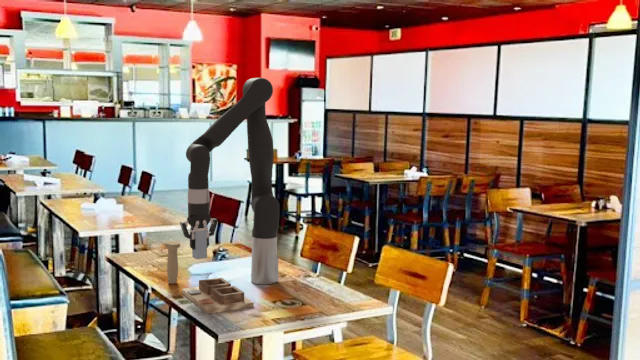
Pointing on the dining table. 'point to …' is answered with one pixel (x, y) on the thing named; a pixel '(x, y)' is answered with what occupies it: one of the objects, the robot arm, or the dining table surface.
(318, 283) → the dining table surface
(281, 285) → the dining table surface
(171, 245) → the handle
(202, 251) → the plug
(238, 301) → the socket board
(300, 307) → the dining table surface
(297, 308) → the dining table surface
